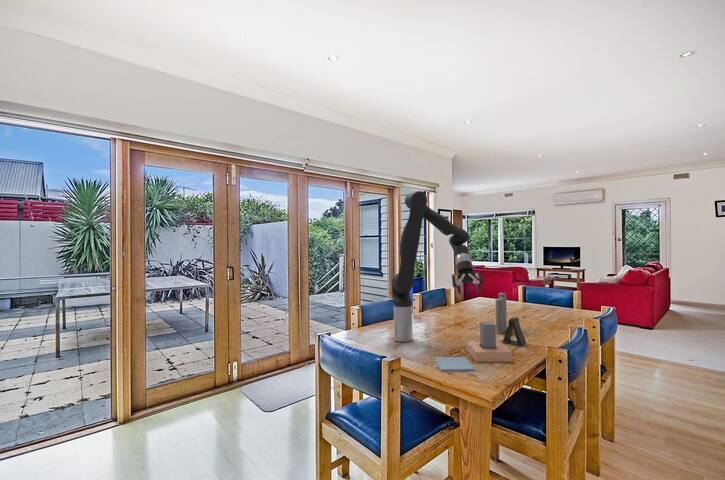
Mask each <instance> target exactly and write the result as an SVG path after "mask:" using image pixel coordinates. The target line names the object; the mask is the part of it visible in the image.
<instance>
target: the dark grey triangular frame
mask: <svg viewBox="0 0 725 480" xmlns="http://www.w3.org/2000/svg"><path fill="white" fill-rule="evenodd" d="M513 333H514V335H515V338H516V340H514V339H512V335H513ZM502 344H508V345H512V346H519V347H524V345H526V344H527V341H526V338H525V335H524V333H523V330H522V328H521V325H520V318H519V317H518V316H516V317H515V316H513V317H511V318H510V319H509V320H508V325H507V329H506V331H505V334H504V337H503V340H502Z"/></svg>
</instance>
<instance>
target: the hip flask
mask: <svg viewBox="0 0 725 480" xmlns="http://www.w3.org/2000/svg"><path fill="white" fill-rule="evenodd" d="M507 319H508V318H507V294H506V293H505V292H504V293H503V292H499V293H498V298H496V299H495V325H496V334H499V335H500V334H503V333H506V331H507V328H508V323H507Z"/></svg>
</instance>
